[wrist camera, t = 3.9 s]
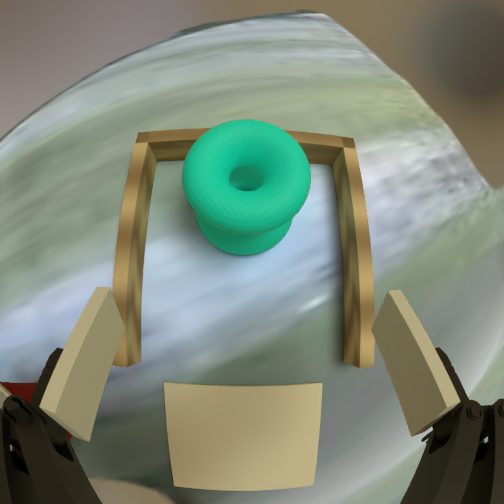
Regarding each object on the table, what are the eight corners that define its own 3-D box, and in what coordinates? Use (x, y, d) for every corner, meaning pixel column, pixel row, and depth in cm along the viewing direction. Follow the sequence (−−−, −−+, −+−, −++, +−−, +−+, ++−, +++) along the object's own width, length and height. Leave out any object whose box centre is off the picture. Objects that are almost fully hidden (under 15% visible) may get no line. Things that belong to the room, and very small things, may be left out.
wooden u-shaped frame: (356, 360, 26) (373, 366, 22) (128, 359, 24) (112, 364, 21) (342, 156, 31) (353, 138, 27) (147, 151, 30) (138, 132, 26)
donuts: (234, 257, 17) (155, 155, 19) (235, 277, 27) (179, 204, 28) (341, 176, 19) (257, 96, 20) (309, 220, 29) (251, 156, 30)
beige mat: (312, 483, 22) (313, 485, 21) (174, 484, 21) (174, 485, 21) (321, 381, 25) (322, 382, 25) (164, 381, 24) (163, 382, 24)
